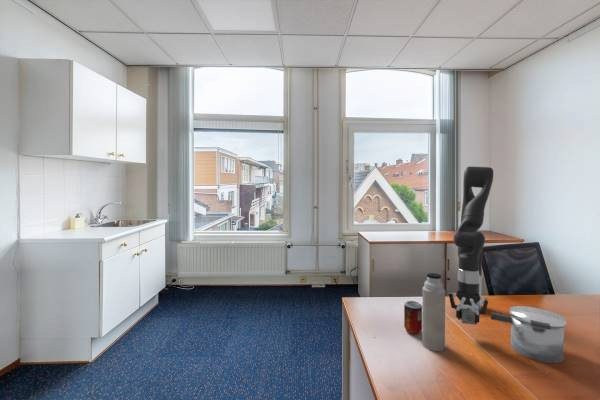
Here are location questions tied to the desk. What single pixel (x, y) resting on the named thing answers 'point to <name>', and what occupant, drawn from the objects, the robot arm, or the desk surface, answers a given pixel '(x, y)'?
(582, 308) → the desk surface
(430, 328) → the thermos bottle
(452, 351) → the desk surface
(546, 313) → the pressure cooker lid
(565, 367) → the desk surface
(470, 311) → the dice cube
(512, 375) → the desk surface
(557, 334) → the pressure cooker pot
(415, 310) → the soda can
